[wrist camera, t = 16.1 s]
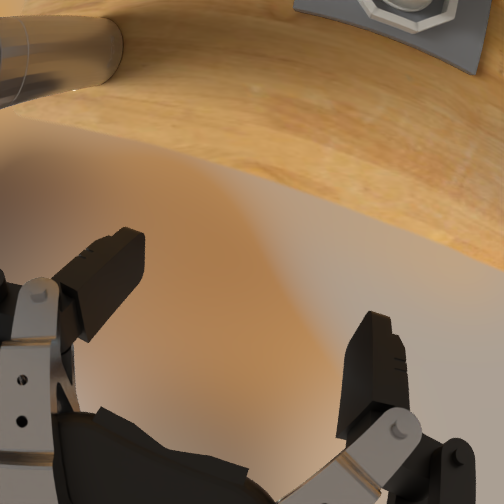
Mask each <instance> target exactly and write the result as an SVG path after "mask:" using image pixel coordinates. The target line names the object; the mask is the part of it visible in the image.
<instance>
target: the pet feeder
mask: <svg viewBox="0 0 504 504" xmlns="http://www.w3.org/2000/svg"><path fill="white" fill-rule="evenodd" d="M491 2H492V0H432V2H431V3H430V4H429V5H428V6H427V7H426V8H424V9H422V10H420V11H417V12H403V11H399V10H396V9H394V8H392V7H390V6H388V5H386V4H385V3H384V2H383V1H381V0H295V1H294V5H293V9H294V10H295V11H298V12H302V13H307V14H311V15H315V16H320V17H323V18H327V19H331V20H335V21H338V22H342V23H345V24H349V25H352V26H355V27H358V28H362V29H365V30H368V31H371V32H374V33H376V34H379V35H382V36H385V37H388V38H390V39H393V40H396V41H398V42H401V43H403V44H406V45H408V46H411V47H413V48H415V49H418V50H420V51H422V52H424V53H427V54H429V55H431V56H433V57H435V58H438V59H440V60H442V61H444V62H446V63H448V64H450V65H452V66H454V67H456V68H458V69H460V70H462V71H463V72H465V73H467V74H469V75H476V71H477V67H478V63H479V59H480V55H481V51H482V47H483V43H484V38H485V34H486V29H487V24H488V19H489V13H490V8H491Z"/></svg>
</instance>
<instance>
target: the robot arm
mask: <svg viewBox="0 0 504 504" xmlns="http://www.w3.org/2000/svg"><path fill="white" fill-rule="evenodd" d="M122 52H123V40H122V35H121V32H120V30H119V28H118V26H117V25H116V24H115V23H114V22H113V21H111V20H109V19H106V18H99V17H86V16H67V15H32V16H13V17H0V109H2V108H5V107H8V106H12V105H15V104H19V103H22V102H26V101H30V100H33V99H37V98H41V97H45V96H49V95H54V94H58V93H62V92H67V91H72V90H77V89H82V88H87V87H93V86H98V85H100V84H102V83H104V82H106V81H107V80H108V79H109V78H110V77H111V76H112V75H113V74H114V72H115V71H116V69H117V67H118V65H119V63H120V60H121V56H122ZM144 260H145V235H144V233H142V232H139V231H136V230H133V229H130V228H128V227H123V228H121V229H120V230H119V231H118V232H116V233H115V234H114V235H113V236H106V237H103V238H101V239H98V240H96V241H94V242H93V243H92V244H91V245H89V246H88V247H87V248H86V250H83V251H82V252H81V253H80V254H79V256H77V257H75V258H74V259H73V260H72V261H70V262H69V263H68V264H67V265H66V266H65V267H63V268H62V269H61V270H60V271H59V272H58V273H57V274H55V275H54V277H52V278H51V279H49V278H44V277H40V278H35V279H32V280H30V281H28V282H26V283H25V284H24V285H23V286H22V285H17V284H13V283H8V282H6V279H5V276H4V273H3V271H2V270H1V269H0V504H374V503H375V502H376V501H377V500H378V498H379V497H380V496H381V491H380V490H381V488H383V489H385V490H387V491H389V492H388V499H387V504H475V501H476V471H475V455H474V452H473V450H472V448H471V446H470V445H469V444H468V443H467V442H466V441H464V440H463V439H460V438H452V439H450V440H448V441H447V442H445V443H444V444H442V443H440V442H438V441H436V440H434V439H432V438H430V437H428V436H426V435H425V434H423V433H422V428H421V425H420V422H419V420H418V419H417V418H416V416H415V415H414V414H413V413H412V412H410V405H409V388H408V376H407V375H408V374H407V364H406V353H405V347H404V345H403V343H402V341H401V339H400V337H399V336H398V335H395V334H392V326H391V319H390V317H388V316H385V315H382V314H379V313H376V312H373V311H368V313H367V314H366V315H365V317H364V319H363V320H362V322H361V323H360V325H359V327H358V328H357V330H356V332H355V334H354V335H353V337H352V338H351V340H350V342H349V344H348V346H347V349H346V352H345V358H344V369H343V380H342V391H341V399H340V408H339V416H338V425H337V432H336V438H340V439H344V440H346V448H345V449H344V450H343V451H341V453H339V454H338V455H337V456H336V457H334V458H333V459H332V460H331V461H330V462H329V463H327V464H326V465H325V466H324V467H323V468H321V469H320V470H319V471H318V472H316V473H315V474H314V475H313V476H311V477H310V478H309V479H307V480H306V481H305V482H303V483H302V484H301V485H299V486H298V487H297V488H295V489H294V490H292V491H291V492H290V493H288V494H287V495H285V496H284V497H283V498H281V499H280V500H278V501H277V502H274V500H273V499H272V498H271V496H270V495H269V494H268V493H267V492H266V491H265V490H264V489H263V488H262V487H261V486H259V485H258V484H257V483H255V482H254V481H253V480H251V479H249V478H248V477H246V476H247V473H248V470H249V469H248V468H245V467H242V466H239V465H236V464H233V463H230V462H227V461H224V460H221V459H218V458H215V457H212V456H208V455H200V454H193V453H186V452H180V451H175V450H169V449H167V448H165V447H163V446H162V445H161V444H159V443H158V442H157V441H155V440H154V439H153V438H151V437H150V436H149V435H147V434H146V433H145V432H144V431H143V430H141V429H140V428H139V427H137V426H136V425H135V424H134V423H132V422H130V421H128V420H126V419H124V418H122V417H120V416H118V415H116V414H114V413H112V412H111V411H109V410H107V409H105V408H103V407H100V409H99V410H98V412H97V413H96V414H94V413H88V412H81V411H80V406H79V403H78V399H77V394H76V383H75V366H74V346H73V342H74V341H75V340H76V339H77V338H80V339H82V340H84V341H85V342H87V343H89V342H90V341H91V339H92V338H93V337H94V335H96V333H97V332H98V331H99V330H100V328H101V327H102V326H103V325H104V324H105V322H106V321H107V320H108V319H109V318H110V316H111V315H112V314H113V313H114V312H115V311H116V309H117V308H118V307H119V306H120V305H121V304H122V302H123V301H124V300H125V299H126V298H127V297H128V295H129V294H130V293H131V292H132V291H133V290H134V288H135V287H136V286H137V285H138V284H139V282H140V281H141V279H142V276H143V273H144V265H145V261H144Z"/></svg>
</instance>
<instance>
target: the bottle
mask: <svg viewBox="0 0 504 504" xmlns="http://www.w3.org/2000/svg"><path fill="white" fill-rule="evenodd" d="M381 1H383V2H384V3H385V4H386V5H388V6H390V7H392V8H394V9H396V10H399V11H403V12H417V11H420V10H422V9H424V8H426V7H427V6H428V5H429V4H430V3H431V2H432V0H381Z"/></svg>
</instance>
